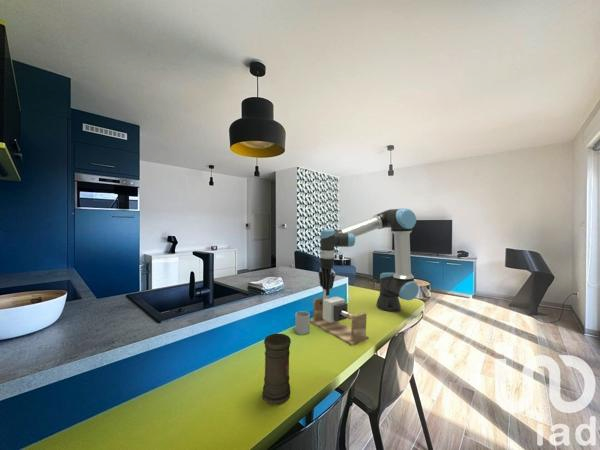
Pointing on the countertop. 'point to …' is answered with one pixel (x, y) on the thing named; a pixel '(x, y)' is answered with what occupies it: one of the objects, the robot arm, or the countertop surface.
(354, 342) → the stand
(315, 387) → the countertop surface
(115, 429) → the countertop surface
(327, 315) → the sleeve
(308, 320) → the cup
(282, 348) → the container
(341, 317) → the dark grey square plate
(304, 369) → the countertop surface
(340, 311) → the pipe
